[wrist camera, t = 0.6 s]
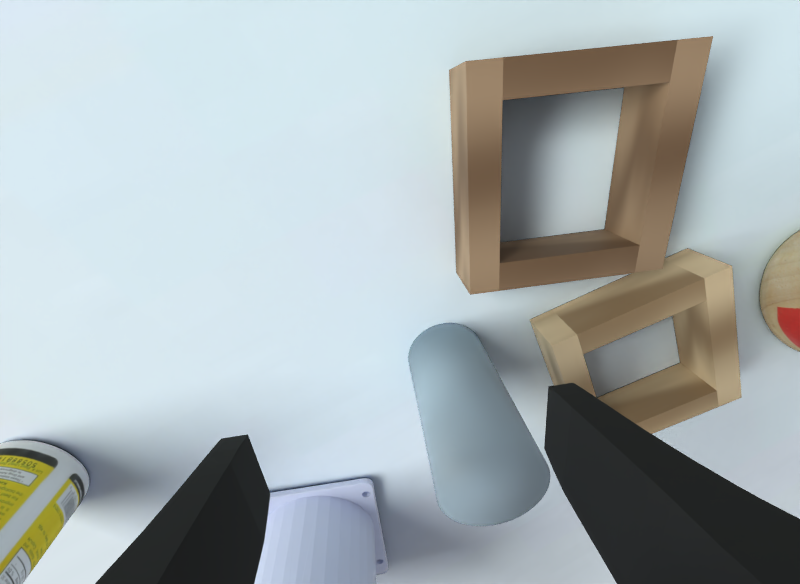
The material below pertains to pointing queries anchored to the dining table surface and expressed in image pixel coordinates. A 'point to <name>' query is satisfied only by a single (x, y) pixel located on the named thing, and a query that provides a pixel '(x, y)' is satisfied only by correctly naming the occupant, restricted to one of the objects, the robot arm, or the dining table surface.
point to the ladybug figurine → (783, 292)
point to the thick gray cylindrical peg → (473, 431)
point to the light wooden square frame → (640, 307)
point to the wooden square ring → (632, 171)
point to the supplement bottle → (34, 502)
